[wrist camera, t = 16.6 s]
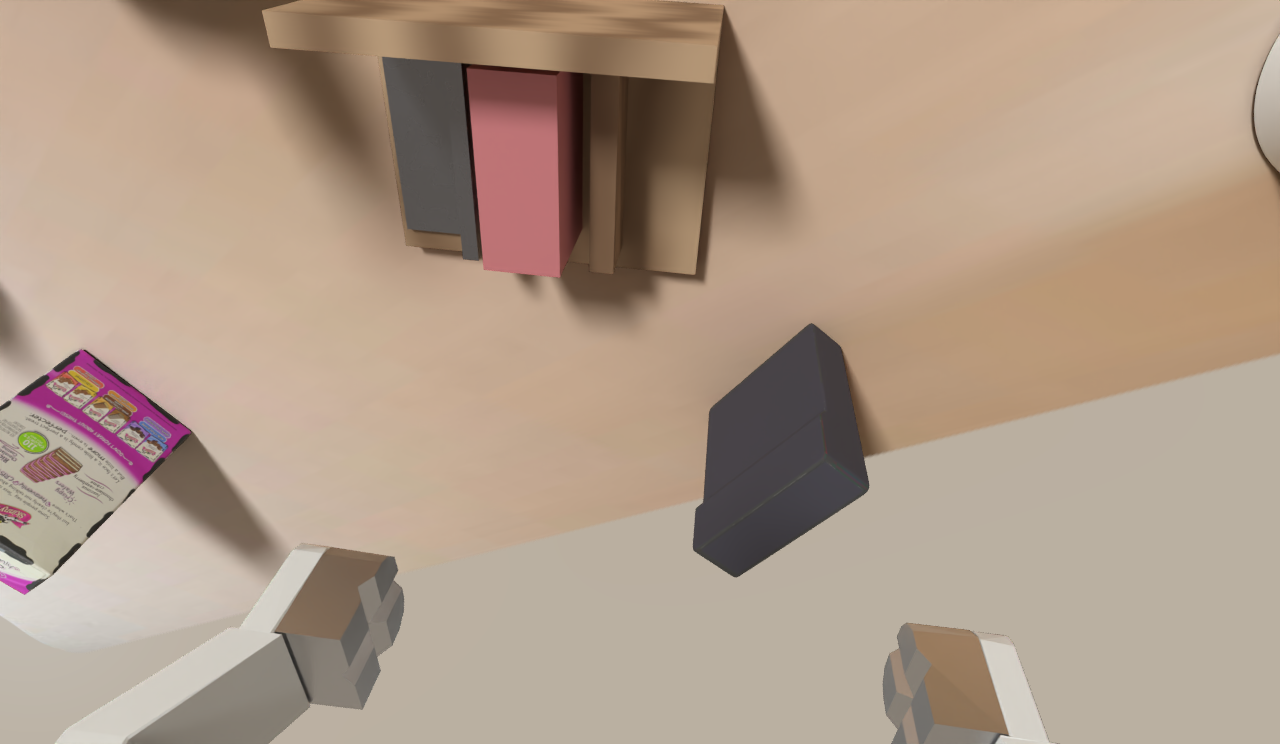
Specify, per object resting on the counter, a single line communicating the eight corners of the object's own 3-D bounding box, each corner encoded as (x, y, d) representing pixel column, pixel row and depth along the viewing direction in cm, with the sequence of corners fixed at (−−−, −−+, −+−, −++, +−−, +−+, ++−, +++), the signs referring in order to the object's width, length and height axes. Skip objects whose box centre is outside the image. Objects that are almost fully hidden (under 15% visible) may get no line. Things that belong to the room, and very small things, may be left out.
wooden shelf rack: (724, 5, 39) (717, 45, 30) (696, 264, 49) (684, 361, 39) (377, -21, 41) (261, 10, 31) (414, 236, 50) (334, 323, 40)
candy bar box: (57, 372, 62) (-134, 507, 48) (82, 345, 60) (-110, 479, 46) (168, 454, 66) (22, 599, 53) (195, 432, 64) (50, 577, 51)
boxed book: (583, 48, 40) (556, 75, 34) (582, 228, 46) (559, 277, 41) (505, 42, 40) (466, 68, 35) (515, 222, 47) (483, 269, 41)
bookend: (481, 21, 40) (458, 33, 37) (496, 234, 47) (478, 260, 44) (379, 13, 40) (347, 24, 37) (410, 226, 48) (385, 251, 45)
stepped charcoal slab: (743, 434, 56) (742, 587, 44) (702, 404, 55) (691, 553, 43) (848, 350, 51) (881, 498, 39) (806, 315, 50) (826, 456, 38)
